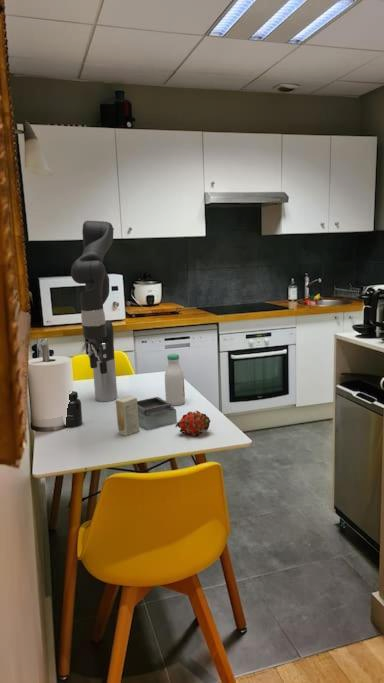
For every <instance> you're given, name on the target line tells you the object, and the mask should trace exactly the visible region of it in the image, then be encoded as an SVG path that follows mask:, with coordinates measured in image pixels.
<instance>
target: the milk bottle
mask: <svg viewBox="0 0 384 683" xmlns="http://www.w3.org/2000/svg"><path fill="white" fill-rule="evenodd" d="M167 361H168V362H167V366H166V369H165V372H164V391H165V401H166V402H168V403H170V404H171V407H174V406H181V405H184V404H185V402H186V398H185V397H186V396H185V395H186V394H185V393H186V392H185V376H184V372H183V370H182V367H181V365H180V355H179V354H178V353H177V354H176V353H171V354H167Z"/></svg>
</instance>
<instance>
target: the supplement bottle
mask: <svg viewBox="0 0 384 683" xmlns="http://www.w3.org/2000/svg"><path fill="white" fill-rule="evenodd" d="M71 391H72V393H71V394H69V400H70V402H69V404H68V408H67V417H66V426H67V427H66V428H76V427H79V426H82V424H83V412H82V409H83V408H82V401H81V399H79V396H78V392H77V391H74V390H71Z"/></svg>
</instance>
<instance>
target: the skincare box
mask: <svg viewBox="0 0 384 683" xmlns="http://www.w3.org/2000/svg"><path fill="white" fill-rule="evenodd" d="M137 401H138V398H137V397H135V396H132V395H127V396H124V397H121V398H117V399H115V408H116V418H117V419H116V420H117V430H118V434H119V435H122V436H124V437H128V436H129V435H133V434H135V433H137V432H140V425H139V419H138V406H137Z"/></svg>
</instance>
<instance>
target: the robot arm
mask: <svg viewBox="0 0 384 683" xmlns="http://www.w3.org/2000/svg"><path fill="white" fill-rule="evenodd" d="M81 234H82V244H83V245H82V246H83V252H82V254H81V256H79V257H78V258H77V259H76V260H75V261H74V262H73V264H72V266H71V269H70V276H71V278H72V280H73V281H74V282H75V283H77V284H79V285H84V284H85V287H84V288H85V290H84V291H82V292H80V294H79V302H80V309H81V310H80V311H81V314H80V316H81V327H82V328H81V329H82V336H83V338H84V347H85V354H86V355H87V357H88V358H89V366H90V368H91V369H92V372H93V382H94V383H93V385H94V386H93V387H94V398H95V401H97V402H111V401H114V400H115V401H116V400H118V390H117V389H118V388H117V387H118V386H117V385H118V384H117V374H116V373H117V372H116V371H117V370H116V359H115V358H116V357H115V346H114V344H115V343H114V341H115V340H114V325H113V323H112V321H111V320H106V315H105V310H104V304H105V303H106V301H107V299H108V297H109V295H110V276H109V275H108V273H107V271H106V267H105V265H104V263H103V261H104V257H105V255H106V253H107V252H108V250H110V248H111V246H112V245H113V241H114V228H113V224H112V223H111V222H109V221H103V220H102V221H101V220H100V221H99V220H85V221H84V222H83V224H82V233H81Z"/></svg>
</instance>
